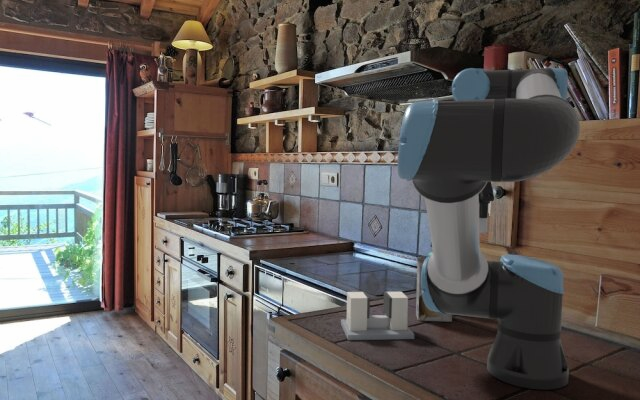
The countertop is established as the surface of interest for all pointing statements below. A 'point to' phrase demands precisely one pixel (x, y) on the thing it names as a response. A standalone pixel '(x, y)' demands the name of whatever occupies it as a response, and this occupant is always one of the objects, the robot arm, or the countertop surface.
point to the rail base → (376, 333)
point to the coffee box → (421, 309)
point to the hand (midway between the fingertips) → (468, 228)
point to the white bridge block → (396, 309)
